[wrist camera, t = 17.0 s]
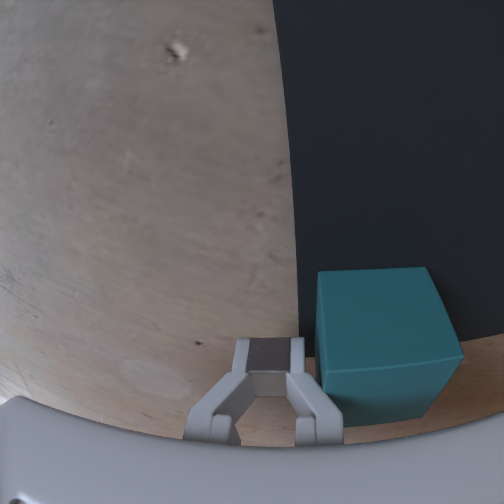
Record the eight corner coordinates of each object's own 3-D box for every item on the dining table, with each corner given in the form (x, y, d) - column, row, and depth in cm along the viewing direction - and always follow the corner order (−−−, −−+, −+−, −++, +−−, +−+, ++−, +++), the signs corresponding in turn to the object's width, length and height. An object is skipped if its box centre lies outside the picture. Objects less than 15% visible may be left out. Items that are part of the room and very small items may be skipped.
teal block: (317, 270, 12) (325, 372, 8) (426, 265, 11) (465, 356, 7) (314, 343, 14) (316, 429, 11) (403, 337, 14) (422, 418, 10)
